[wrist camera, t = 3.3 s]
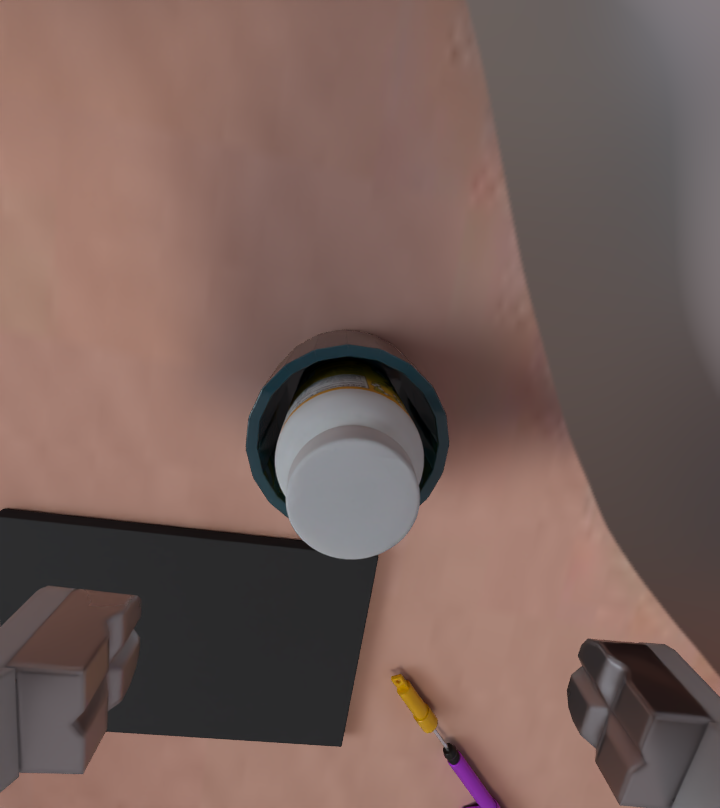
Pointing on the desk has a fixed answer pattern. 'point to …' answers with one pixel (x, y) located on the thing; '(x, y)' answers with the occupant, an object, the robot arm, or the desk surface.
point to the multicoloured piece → (455, 759)
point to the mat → (209, 622)
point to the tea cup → (328, 347)
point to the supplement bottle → (349, 461)
